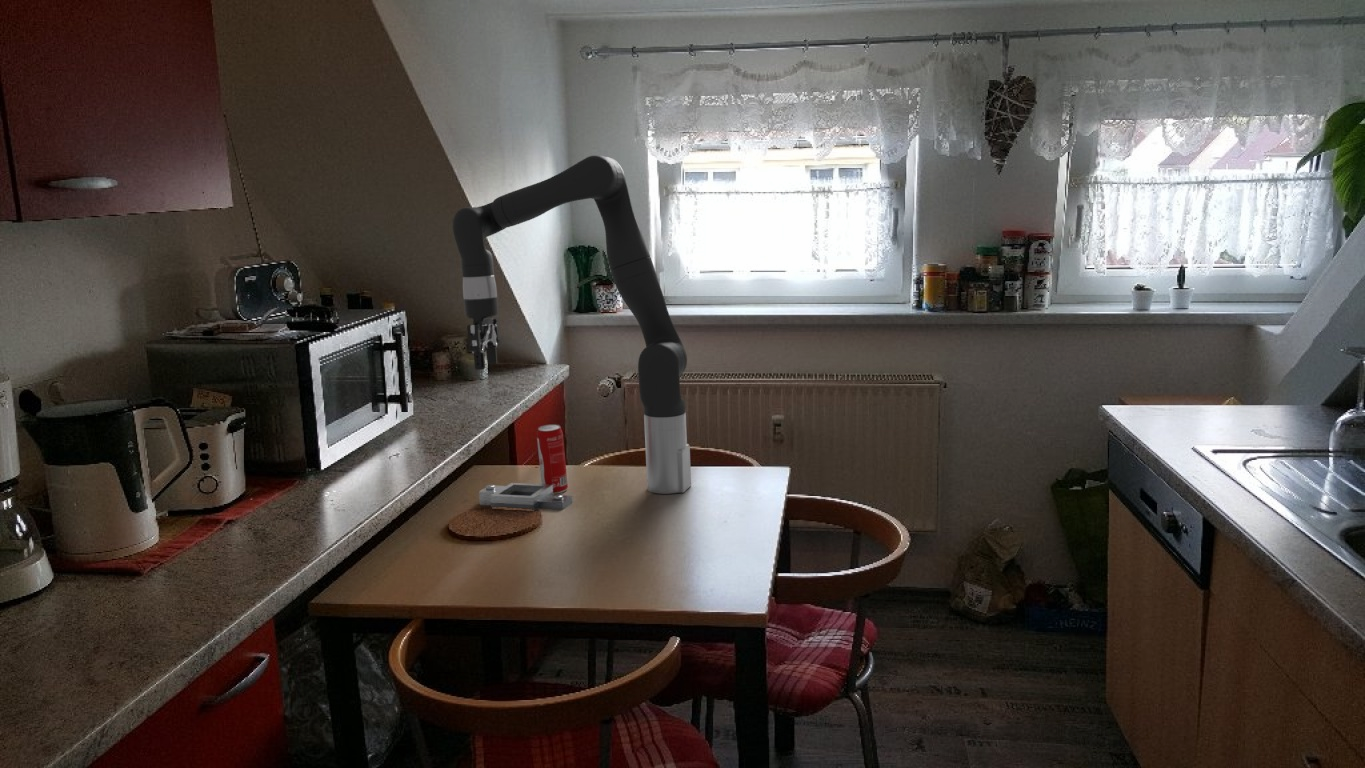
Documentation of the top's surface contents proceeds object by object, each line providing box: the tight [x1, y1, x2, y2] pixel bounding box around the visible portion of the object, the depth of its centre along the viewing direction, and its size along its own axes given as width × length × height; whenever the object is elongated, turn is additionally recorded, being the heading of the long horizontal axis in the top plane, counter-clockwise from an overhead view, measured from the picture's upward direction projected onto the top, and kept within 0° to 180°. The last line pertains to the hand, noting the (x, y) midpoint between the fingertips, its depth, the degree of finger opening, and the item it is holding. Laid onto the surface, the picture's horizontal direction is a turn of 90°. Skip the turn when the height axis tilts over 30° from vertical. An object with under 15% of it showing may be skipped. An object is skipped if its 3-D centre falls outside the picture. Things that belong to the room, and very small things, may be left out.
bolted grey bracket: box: [478, 482, 573, 511], centre depth 211 cm, size 20×10×4 cm, turn 73°
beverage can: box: [536, 423, 569, 495], centre depth 218 cm, size 6×6×15 cm
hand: (486, 366), depth 225 cm, fingers open, 8 cm apart
